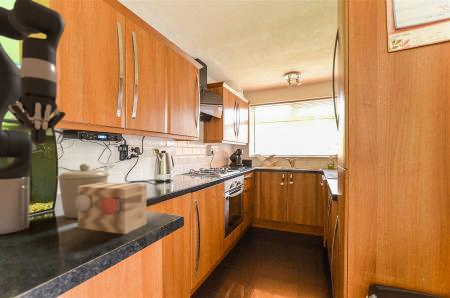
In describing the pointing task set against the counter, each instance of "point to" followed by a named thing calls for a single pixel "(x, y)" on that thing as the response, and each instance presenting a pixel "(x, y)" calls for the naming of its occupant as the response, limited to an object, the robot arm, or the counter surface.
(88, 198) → the beige plug
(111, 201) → the red plug
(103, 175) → the canister
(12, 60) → the robot arm
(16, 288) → the counter surface
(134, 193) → the block
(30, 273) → the counter surface
